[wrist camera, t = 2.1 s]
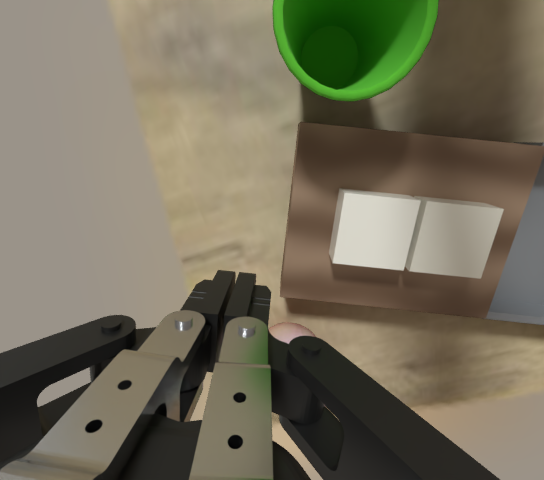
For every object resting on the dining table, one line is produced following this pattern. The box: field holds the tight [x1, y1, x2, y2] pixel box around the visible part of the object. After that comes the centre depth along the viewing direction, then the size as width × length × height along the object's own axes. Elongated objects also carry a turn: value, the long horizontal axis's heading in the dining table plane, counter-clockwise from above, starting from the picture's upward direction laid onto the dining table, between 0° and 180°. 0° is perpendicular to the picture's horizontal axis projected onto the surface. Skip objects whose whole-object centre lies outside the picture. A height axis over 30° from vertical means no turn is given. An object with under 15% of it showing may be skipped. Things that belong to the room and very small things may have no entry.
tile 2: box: [405, 196, 504, 279], centre depth 26 cm, size 6×6×2 cm
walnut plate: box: [280, 122, 544, 319], centre depth 29 cm, size 16×20×4 cm
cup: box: [273, 0, 439, 101], centre depth 22 cm, size 9×9×11 cm
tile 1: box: [329, 188, 421, 271], centre depth 26 cm, size 6×6×2 cm
